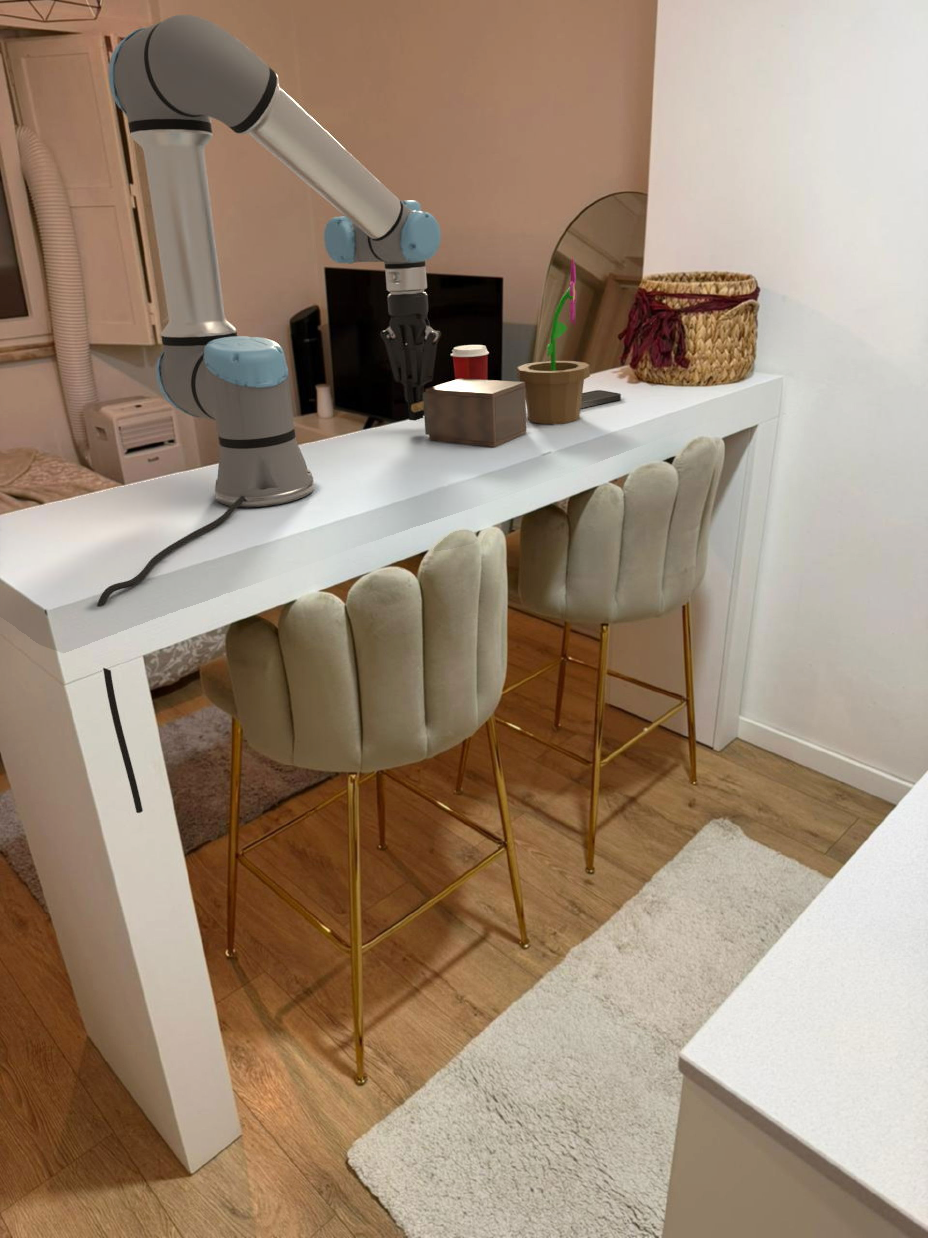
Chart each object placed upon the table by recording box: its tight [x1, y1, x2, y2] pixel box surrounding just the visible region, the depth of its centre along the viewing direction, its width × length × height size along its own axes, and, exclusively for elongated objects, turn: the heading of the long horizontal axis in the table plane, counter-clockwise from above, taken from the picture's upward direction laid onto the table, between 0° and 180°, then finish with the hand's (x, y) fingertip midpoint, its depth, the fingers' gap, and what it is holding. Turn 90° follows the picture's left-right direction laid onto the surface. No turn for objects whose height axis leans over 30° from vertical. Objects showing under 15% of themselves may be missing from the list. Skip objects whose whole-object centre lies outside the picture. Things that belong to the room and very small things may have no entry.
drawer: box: [411, 391, 429, 436], centre depth 168 cm, size 18×10×8 cm, turn 56°
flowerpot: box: [516, 257, 591, 425], centre depth 173 cm, size 14×14×30 cm
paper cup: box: [450, 344, 490, 380], centre depth 182 cm, size 8×8×14 cm
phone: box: [580, 389, 622, 409], centre depth 191 cm, size 8×1×15 cm
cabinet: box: [425, 378, 527, 448], centre depth 166 cm, size 15×12×10 cm
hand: (416, 418), depth 175 cm, fingers closed
